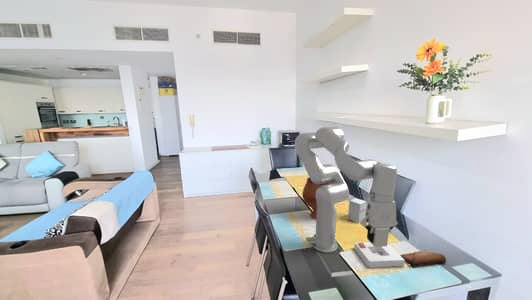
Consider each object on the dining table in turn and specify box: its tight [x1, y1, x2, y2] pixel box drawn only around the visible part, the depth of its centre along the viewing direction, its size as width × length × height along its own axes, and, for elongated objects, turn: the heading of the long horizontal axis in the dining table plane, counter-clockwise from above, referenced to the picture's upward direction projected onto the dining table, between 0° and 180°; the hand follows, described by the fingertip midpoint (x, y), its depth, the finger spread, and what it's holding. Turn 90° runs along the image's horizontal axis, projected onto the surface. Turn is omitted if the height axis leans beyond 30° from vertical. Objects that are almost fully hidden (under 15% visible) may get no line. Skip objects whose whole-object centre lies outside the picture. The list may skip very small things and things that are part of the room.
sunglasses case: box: [399, 251, 447, 268], centre depth 102 cm, size 18×7×7 cm
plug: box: [369, 227, 390, 247], centre depth 86 cm, size 5×5×8 cm
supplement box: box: [347, 197, 367, 224], centre depth 139 cm, size 7×7×13 cm
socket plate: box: [353, 241, 406, 269], centre depth 104 cm, size 16×14×4 cm
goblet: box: [302, 177, 329, 220], centre depth 141 cm, size 19×19×25 cm
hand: (377, 240), depth 87 cm, fingers closed on plug, 5 cm apart
